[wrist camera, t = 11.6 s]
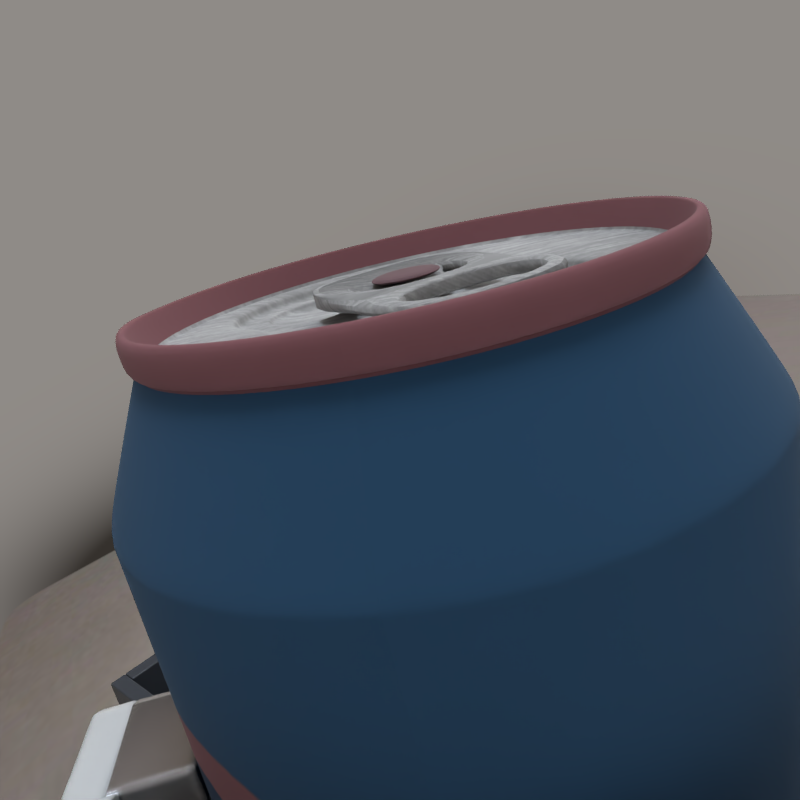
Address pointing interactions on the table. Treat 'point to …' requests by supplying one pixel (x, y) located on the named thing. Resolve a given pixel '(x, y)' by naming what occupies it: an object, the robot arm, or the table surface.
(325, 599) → the soda can
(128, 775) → the robot arm
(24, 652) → the table surface
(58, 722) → the table surface
